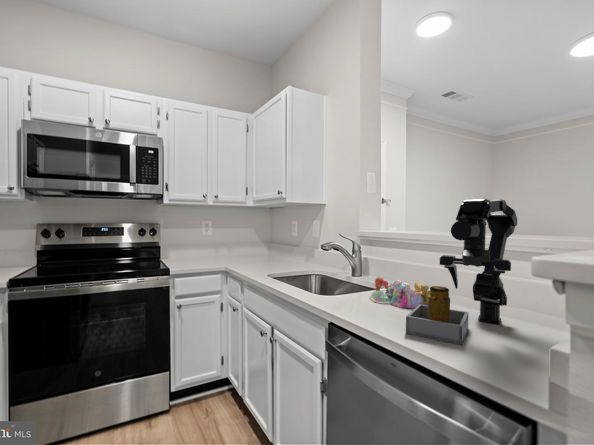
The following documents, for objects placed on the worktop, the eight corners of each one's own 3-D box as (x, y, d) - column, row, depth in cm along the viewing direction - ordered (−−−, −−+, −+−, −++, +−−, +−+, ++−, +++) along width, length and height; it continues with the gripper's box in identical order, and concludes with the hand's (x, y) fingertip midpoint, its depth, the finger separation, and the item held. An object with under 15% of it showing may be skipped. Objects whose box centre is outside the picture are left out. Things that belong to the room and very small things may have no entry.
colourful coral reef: (422, 296, 140) (423, 275, 140) (442, 311, 116) (442, 286, 116) (366, 293, 142) (366, 273, 142) (374, 308, 119) (374, 283, 119)
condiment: (431, 321, 99) (432, 284, 99) (460, 328, 93) (461, 288, 93) (422, 327, 93) (423, 287, 93) (452, 334, 88) (453, 292, 88)
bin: (418, 319, 105) (419, 304, 105) (468, 328, 97) (468, 312, 96) (405, 333, 91) (406, 316, 91) (461, 345, 83) (462, 326, 83)
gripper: (437, 239, 94) (435, 290, 94) (511, 242, 84) (510, 300, 84) (443, 238, 103) (441, 284, 103) (511, 241, 93) (509, 293, 93)
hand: (473, 290), depth 95 cm, fingers open, 9 cm apart
